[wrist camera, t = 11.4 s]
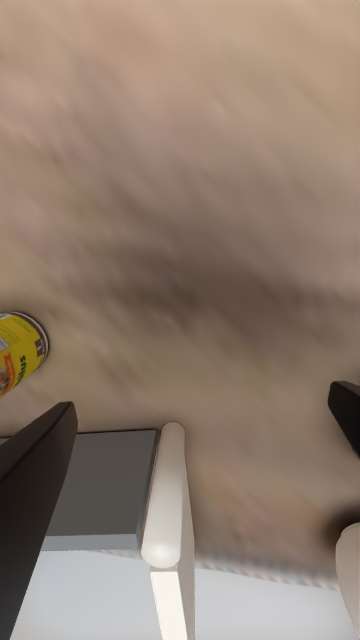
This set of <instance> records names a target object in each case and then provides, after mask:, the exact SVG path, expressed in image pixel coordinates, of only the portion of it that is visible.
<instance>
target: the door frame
mask: <svg viewBox="0 0 360 640" xmlns="http://www.w3.org/2000/svg"><path fill="white" fill-rule="evenodd" d="M184 446H185V430H184V428H183V426H182V425H180V424H179V423H176V422H170V423H167V424H165V425H164V426H163V428H162V430H161V436H160V442H159V448H158V455H157V461H156V467H155V473H154V479H153V485H152V491H151V497H150V503H149V509H148V515H147V521H146V527H145V533H144V539H143V545H142V551H141V555H142V558H143V559H144V561H145V562H147V563H148V564H149V565H151V569H150V575H151V580H152V586H153V591H154V596H155V601H156V607H157V612H158V618H159V623H160V628H161V634H162V639H163V640H195V606H194V605H195V597H194V595H195V594H194V590H195V589H194V533H193V524H192V515H191V507H190V498H189V490H188V481H187V473H186V464H185V455H184Z"/></svg>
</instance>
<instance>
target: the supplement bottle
mask: <svg viewBox="0 0 360 640" xmlns="http://www.w3.org/2000/svg"><path fill="white" fill-rule="evenodd" d="M47 352H48V342H47V338H46V335H45V333H44V331H43V329H42V328H41V327H40V326H39V324H38V323H37V322H35V321H34V320H33V319H32V318H30V317H28V316H26V315H24V314H21V313H17V312H2V313H0V398H1V397H2V396H4V395H5V394H6V393H7V392H9V391H10V390H11V389H13V388H14V387H15V386H16V385H18V384H19V383H20V382H21V381H23V380H24V379H25V378H26V377H28V376H29V375H30V374H31V373H33V372H34V371H35V370H36V369H38V368H39V367H40V366H41V365H42V363H43V362H44V360H45V358H46V356H47Z"/></svg>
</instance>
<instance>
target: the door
mask: <svg viewBox="0 0 360 640" xmlns="http://www.w3.org/2000/svg"><path fill="white" fill-rule="evenodd" d="M8 439H9V438H2V439H0V445H1V444H2V443H4V442H5V441H6V440H8ZM157 442H158V440H157V433H156V430H146V431H128V432H110V433H92V434H76V437H75V441H74V446H73V450H72V454H71V459H70V463H69V467H68V471H67V475H66V478H65V481H64V484H63V487H62V490H61V493H60V495H59V498H58V501H57V504H56V507H55V510H54V513H53V516H52V519H51V521H50V524H49V527H48V530H47V533H46V536H45V539H44V542H43V545H42V547H41V550H40V551H64V550H66V551H67V550H109V549H139V543H140V537H141V532H142V526H143V521H144V515H145V509H146V504H147V498H148V492H149V487H150V481H151V475H152V470H153V464H154V459H155V453H156V447H157Z"/></svg>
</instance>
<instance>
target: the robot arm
mask: <svg viewBox="0 0 360 640" xmlns="http://www.w3.org/2000/svg"><path fill="white" fill-rule="evenodd" d="M328 406H329V409H330V410H331V412H332V414H333V415H334V417H335V419H336V421H337V422H338V424H339V426H340V427H341V429H342V431H343V433H344V434H345V436H346V438H347V439H348V441H349V443H350V444H351V446H352V449H353V451H354V452H355V453H356V454H357V457H358V459H359V460H360V386H357V385H355V384H352V383H349V382H347V381H334V382H332V383H331V386H330V391H329V396H328ZM77 428H78V420H77V416H76V411H75V406H74V403H73V402H72V401H68V402H60V403H58V404H57V405H55V406H54V407H52V408H51V409H50V410H48V411H47V412H45V413H44V414H43V415H41V416H40V417H38V418H37V419H36V420H34V421H33V422H32V423H30V424H29V425H27V426H26V427H25V428H23V429H22V430H20V431H19V432H18V433H16V434H15V435H13V436H12V437H11V438H9V439H8V440H6V441H5V442H4V443H2V444H1V445H0V640H10V637H11V634H12V631H13V628H14V625H15V623H16V620H17V617H18V614H19V611H20V608H21V605H22V602H23V599H24V596H25V594H26V590H27V588H28V585H29V582H30V579H31V576H32V573H33V570H34V567H35V565H36V562H37V559H38V556H39V553H40V550H41V547H42V545H43V542H44V539H45V536H46V533H47V530H48V527H49V524H50V521H51V519H52V516H53V513H54V510H55V507H56V504H57V501H58V498H59V495H60V493H61V490H62V487H63V484H64V481H65V478H66V475H67V471H68V467H69V463H70V459H71V454H72V450H73V446H74V441H75V437H76V432H77Z"/></svg>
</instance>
